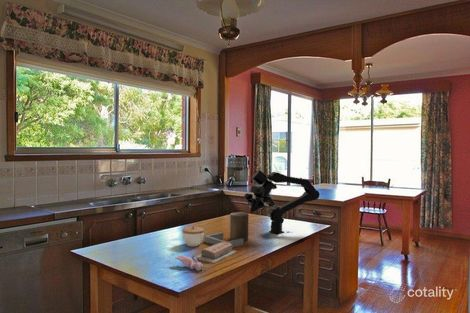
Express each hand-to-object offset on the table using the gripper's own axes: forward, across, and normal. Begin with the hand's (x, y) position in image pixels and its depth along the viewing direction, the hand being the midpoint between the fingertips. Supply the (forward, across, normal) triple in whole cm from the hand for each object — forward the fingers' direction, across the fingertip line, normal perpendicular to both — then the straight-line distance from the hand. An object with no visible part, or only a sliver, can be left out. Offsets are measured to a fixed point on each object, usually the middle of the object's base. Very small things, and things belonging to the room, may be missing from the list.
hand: (251, 211), depth 186 cm
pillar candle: (+16, 0, +3) cm, 17 cm away
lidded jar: (+33, -8, -14) cm, 37 cm away
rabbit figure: (+47, +17, -28) cm, 57 cm away
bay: (+23, 0, -4) cm, 23 cm away
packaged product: (+35, +13, -15) cm, 40 cm away
